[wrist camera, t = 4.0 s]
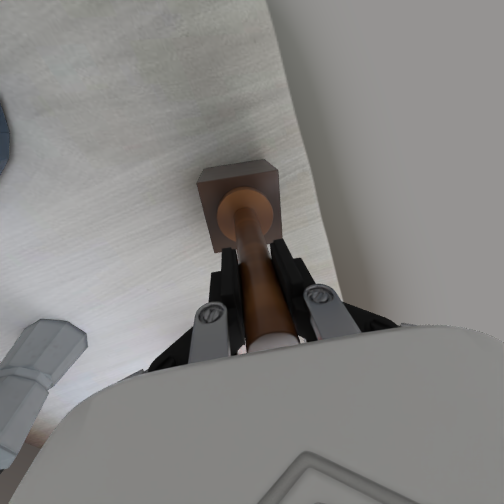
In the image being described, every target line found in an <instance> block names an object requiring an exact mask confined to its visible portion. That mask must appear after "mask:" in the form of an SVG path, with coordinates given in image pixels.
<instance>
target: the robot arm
mask: <svg viewBox="0 0 504 504" xmlns="http://www.w3.org/2000/svg"><path fill="white" fill-rule="evenodd" d="M270 249H271V259H272V262H273V265H274V268H275V271H276V274H277V277H278V279H279V282H280V285H281V288H282V291H283V294H284V297H285V300H286V303H287V306H288V308H289V311H290V314H291V317H292V320H293V323H294V326H295V328H296V331H297V334H298V335H299V336H301V337H303V338H304V343H302V344H296V345H290V346H285V347H279V348H273V349H268V350H262V351H257V352H251V353H246V354H240V355H239V353H238V350H239V349H240V348H241V346H242V345H245V330H244V319H243V305H242V295H241V284H240V274H239V264H238V259H237V254H236V249H232V247H228V248H222V263H221V271H218V272H212V273H211V282H210V292H209V303H206V304H204V305H203V306H201V307H200V308H199V309H198V310H197V312H196V314H195V319H194V326H193V327H192V328H191V329H189V330H188V331H187V332H186V333H185V334H184V335H183V336H181V337H180V338H179V339H178V340H177V341H176V342H174V343H173V344H172V345H171V346H170V347H169V348H168V349H166V350H165V351H164V352H163V353H162V354H161V355H159V356H158V357H157V358H156V359H155V360H154V361H153V362H152V364H151V365H150V367H149V369H148V370H146V371H144V370H143V369H142V370H140V371H138V372H136V373H134V374H132V375H130V376H128V377H126V378H124V379H122V380H120V381H118V382H117V383H115V384H112V385H110V386H108V387H106V388H104V389H102V390H100V391H98V392H96V393H95V394H93V395H91V396H90V397H88V398H86V399H85V400H83V401H82V402H81V403H79V404H78V405H77V406H75V407H74V408H73V409H72V410H71V411H70V412H69V413H68V414H67V415H66V416H65V417H64V418H63V419H62V421H61V422H60V423H59V424H58V426H57V427H56V428H55V429H54V431H53V432H52V434H51V435H50V436H49V438H48V439H47V441H46V442H45V444H44V445H43V447H42V449H41V450H40V452H39V453H38V455H37V456H36V458H35V460H34V461H33V463H32V464H31V466H30V468H29V469H28V471H27V473H26V474H25V476H24V478H23V479H22V481H21V483H20V484H19V486H18V488H17V490H16V491H15V493H14V495H13V497H12V498H11V500H10V502H9V503H8V504H504V342H502V341H501V340H499V339H497V338H495V337H493V336H490V335H488V334H485V333H483V332H480V331H476V330H472V329H467V328H462V327H454V326H447V325H413V324H404V323H401V325H400V326H398V325H396V324H395V323H394V322H392V321H391V320H389V319H387V318H385V317H382V316H379V315H376V314H374V313H371V312H369V311H366V310H363V309H360V308H358V307H355V306H352V305H350V304H347V303H344V302H342V301H341V300H340V298H339V297H338V295H337V293H336V292H335V291H334V290H333V289H332V288H331V287H329V286H327V285H323V284H316V283H315V282H314V280H313V278H312V276H311V275H310V273H309V271H308V269H307V268H306V266H305V264H304V262H303V260H302V259H301V258H295V259H293V257H292V255H291V253H290V251H289V249H288V248H287V246H286V244H285V242H284V240H283V239H277V240H273V243H270Z"/></svg>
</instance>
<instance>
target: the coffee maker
mask: <svg viewBox="0 0 504 504" xmlns="http://www.w3.org/2000/svg"><path fill="white" fill-rule="evenodd" d="M87 347H88V345H87V336H86V333H85V332H83V331H82V330H80V329H78V328H77V327H75V326H74V325H72V324H70V323H69V322H67V321H57V320H47V319H40V320H39V321H37V322H35V323H34V324H32V325H30V326H28V327H27V328H25V330H24V331H23V333H22V334H21V335H20V337H19V338H18V340H17V341H16V342H15V344H14V345H13V347H12V348H11V350H10V351H9V352H8V354H7V355H6V357H5V358H4V359H3V361H2V362H1V364H0V474H1V473H2V471H3V470H4V469H5V468H9V466H10V465H11V464H12V462H13V460H14V459H15V457H16V455H17V454H18V452H19V450H20V449H21V447H22V445H23V443H24V441H25V439H26V437H27V435H28V433H29V431H30V429H31V427H32V425H33V423H34V421H35V419H36V417H37V415H38V413H39V411H40V410H41V408H42V406H43V404H44V402H45V400H46V398H47V396H48V394H49V393H48V391H47V390H49V389H50V388H52V387H53V386H55V385H56V383H57V382H58V381H59V380H60V379H61V378H62V376H63V375H64V374H65V373H66V372H67V371H68V369H69V368H70V367H71V366H72V365H73V364H74V362H75V361H76V360H77V359H78V358H79V357H80V355H81V354H82V353H83V352H84V351H85V350H86V348H87Z"/></svg>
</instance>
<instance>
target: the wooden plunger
mask: <svg viewBox="0 0 504 504" xmlns="http://www.w3.org/2000/svg"><path fill="white" fill-rule="evenodd" d="M272 221H273V209H272V206H271V204H270V202H269V200H268V199H267V197H266V196H265V195H264V194H263V193H262V192H260V191H259V190H257V189H255V188H252V187H238V188H235V189H232V190H231V191H229V192H228V193H226V194H225V195H224V196H223V198H222V199H221V201H220V202H219V205H218V208H217V223H218V226H219V228H220V230H221V231H222V233H223V234H224V235H225V236H226V237H228V238H229V239H231V240H233V241H236V245H237V256H238V264H239V274H240V284H241V295H242V305H243V319H244V330H245V341H246V351H247V353H251V352H257V351H262V350H268V349H273V348H279V347H285V346H290V345H296V344H300V340H299V337H298V334H297V331H296V328H295V326H294V323H293V320H292V317H291V314H290V311H289V308H288V306H287V303H286V300H285V297H284V294H283V291H282V288H281V285H280V282H279V279H278V277H277V274H276V271H275V268H274V265H273V262H272V259H271V256H270V253H269V250H268V247H267V244H266V242H265V239H264V235H265V234H266V233H267V232H268V230H269V229H270V227H271V224H272Z"/></svg>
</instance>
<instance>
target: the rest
mask: <svg viewBox="0 0 504 504" xmlns="http://www.w3.org/2000/svg"><path fill="white" fill-rule="evenodd" d="M197 187H198V191H199V195H200V199H201V203H202V207H203V211H204V214H205V218H206V222H207V226H208V230H209V234H210V238H211V242H212V246H213V249H214V253H218V252H222V248H228V247H232V249H237V245H236V241H233V240H231V239H229V238H228V237H226V236H225V235H224V234H223V233H222V231H221V230H220V228H219V226H218V223H217V208H218V205H219V202H220V201H221V199H222V198H223V196H224V195H225V194H226V193H228V192H229V191H231V190H232V189H235V188H238V187H252V188H255V189H257V190H259V191H260V192H262V193H263V194H264V195H265V196H266V197H267V199H268V200H269V202H270V204H271V206H272V209H273V221H272V224H271V227H270V229H269V230H268V232H267V233H266V234H265V235H264V239H265V242H266V244H270V243H273V240H277V239H283V238H282V222H281V207H280V191H279V175H278V170H277V169H276V168H275V167H274V166H273V165H271V164H270V163H269V162H268V161H267V160H265V159H262V160H256V161H249V162H243V163H236V164H230V165H224V166H217V167H211V168H204V169H203V171H202V173H201V175H200V177H199V179H198V181H197Z"/></svg>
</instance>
